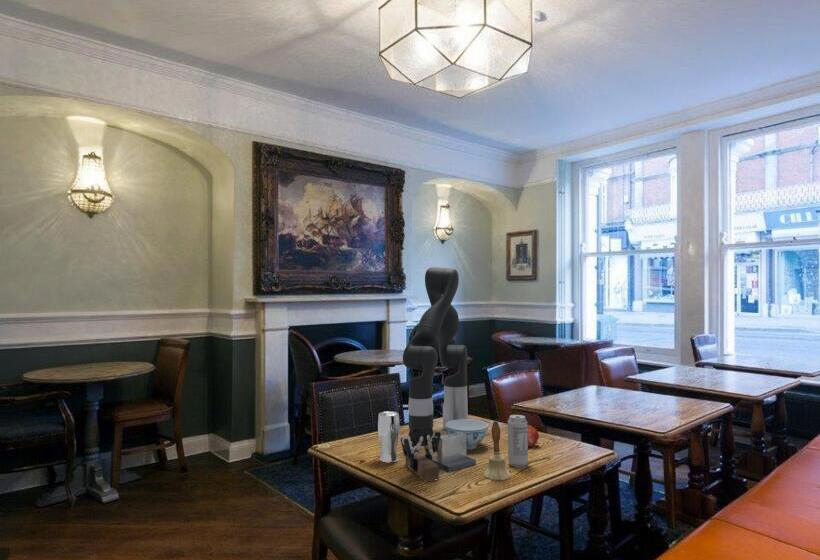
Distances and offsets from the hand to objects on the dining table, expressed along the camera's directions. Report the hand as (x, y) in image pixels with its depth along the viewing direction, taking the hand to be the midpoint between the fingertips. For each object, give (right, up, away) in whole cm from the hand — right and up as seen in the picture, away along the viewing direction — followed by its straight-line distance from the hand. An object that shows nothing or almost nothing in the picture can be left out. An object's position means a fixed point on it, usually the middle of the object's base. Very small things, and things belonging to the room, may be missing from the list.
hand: (421, 468), depth 155 cm
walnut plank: (0, -1, 0) cm, 1 cm away
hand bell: (+22, -1, -4) cm, 23 cm away
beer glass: (-10, -2, +11) cm, 15 cm away
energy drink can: (+30, -1, +6) cm, 31 cm away
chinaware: (+17, -2, +25) cm, 30 cm away
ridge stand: (+10, -1, +7) cm, 12 cm away
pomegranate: (+38, -2, +26) cm, 46 cm away
